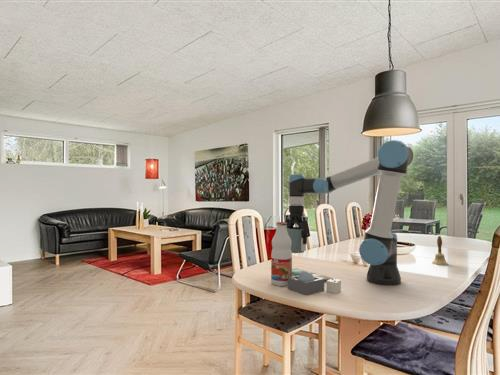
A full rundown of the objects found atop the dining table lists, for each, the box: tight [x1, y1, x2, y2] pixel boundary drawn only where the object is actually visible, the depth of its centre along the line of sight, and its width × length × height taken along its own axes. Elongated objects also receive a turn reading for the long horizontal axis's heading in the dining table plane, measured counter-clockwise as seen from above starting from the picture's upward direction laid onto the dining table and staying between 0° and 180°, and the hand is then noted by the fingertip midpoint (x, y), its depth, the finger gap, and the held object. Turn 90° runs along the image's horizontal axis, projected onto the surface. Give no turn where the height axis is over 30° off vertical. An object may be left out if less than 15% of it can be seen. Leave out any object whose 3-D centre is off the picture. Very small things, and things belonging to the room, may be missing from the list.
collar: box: [287, 275, 325, 296], centre depth 149 cm, size 11×11×5 cm
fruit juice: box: [270, 221, 293, 287], centre depth 158 cm, size 9×9×28 cm
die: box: [326, 278, 342, 294], centre depth 147 cm, size 4×4×5 cm
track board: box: [292, 267, 334, 283], centre depth 170 cm, size 24×13×1 cm, turn 37°
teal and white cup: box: [286, 226, 305, 254], centre depth 174 cm, size 10×10×12 cm
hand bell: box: [431, 235, 449, 266], centre depth 200 cm, size 8×8×16 cm
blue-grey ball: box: [298, 270, 314, 282], centre depth 149 cm, size 7×7×7 cm
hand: (296, 249), depth 175 cm, fingers closed on teal and white cup, 10 cm apart
